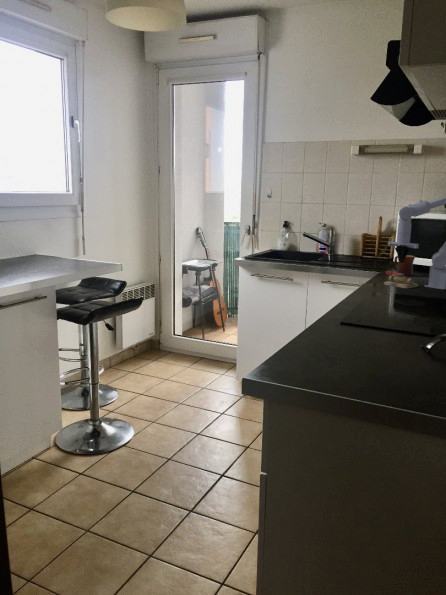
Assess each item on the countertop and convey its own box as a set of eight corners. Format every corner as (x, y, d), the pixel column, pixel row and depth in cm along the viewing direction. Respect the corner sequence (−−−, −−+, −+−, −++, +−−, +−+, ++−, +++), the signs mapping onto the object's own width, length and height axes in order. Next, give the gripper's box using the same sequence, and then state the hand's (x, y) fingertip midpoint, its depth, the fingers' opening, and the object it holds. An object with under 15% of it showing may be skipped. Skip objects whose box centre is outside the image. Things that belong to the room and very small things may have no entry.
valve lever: (404, 276, 231) (405, 273, 231) (402, 276, 230) (402, 273, 229) (388, 273, 238) (388, 270, 238) (385, 274, 237) (385, 271, 236)
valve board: (418, 286, 230) (418, 277, 229) (407, 288, 225) (408, 279, 224) (394, 282, 239) (395, 274, 238) (384, 284, 234) (384, 275, 233)
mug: (417, 276, 261) (418, 256, 258) (404, 277, 257) (406, 257, 255) (400, 272, 271) (401, 254, 269) (387, 273, 268) (389, 254, 266)
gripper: (423, 234, 227) (420, 263, 229) (395, 231, 238) (392, 260, 241) (414, 234, 222) (411, 264, 225) (386, 232, 234) (384, 261, 236)
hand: (401, 262), depth 233 cm, fingers closed
